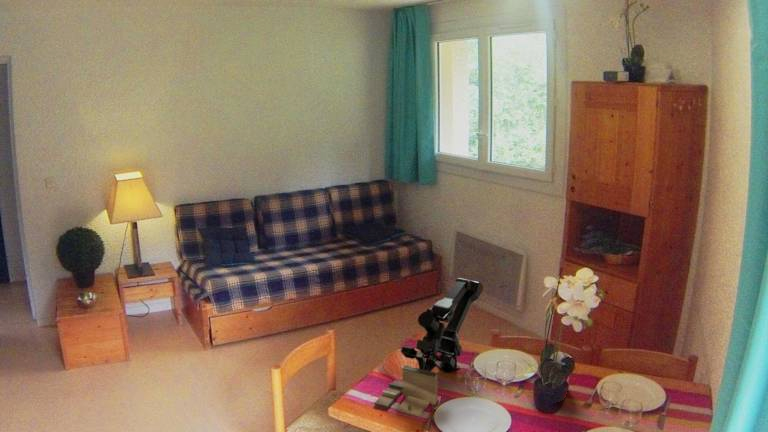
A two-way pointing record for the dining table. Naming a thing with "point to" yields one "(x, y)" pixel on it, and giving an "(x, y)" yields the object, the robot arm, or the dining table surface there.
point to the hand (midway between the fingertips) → (421, 380)
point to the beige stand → (418, 390)
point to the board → (390, 395)
